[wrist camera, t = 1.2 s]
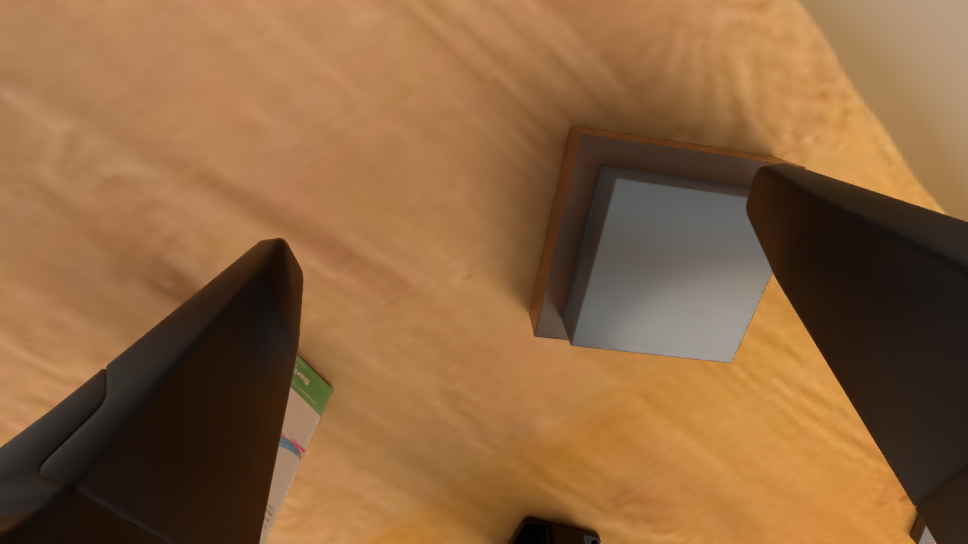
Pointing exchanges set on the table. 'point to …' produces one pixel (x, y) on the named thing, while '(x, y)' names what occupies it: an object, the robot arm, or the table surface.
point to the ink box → (295, 436)
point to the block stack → (651, 248)
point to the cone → (921, 533)
